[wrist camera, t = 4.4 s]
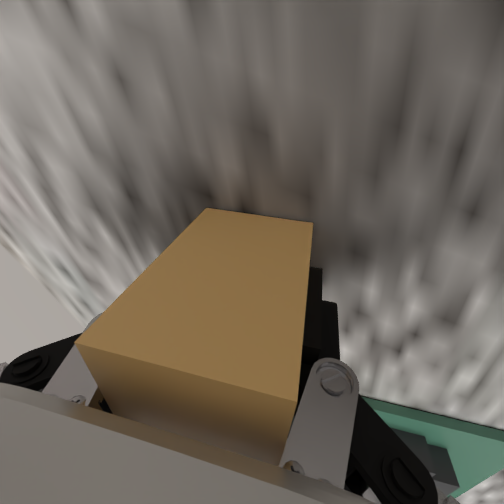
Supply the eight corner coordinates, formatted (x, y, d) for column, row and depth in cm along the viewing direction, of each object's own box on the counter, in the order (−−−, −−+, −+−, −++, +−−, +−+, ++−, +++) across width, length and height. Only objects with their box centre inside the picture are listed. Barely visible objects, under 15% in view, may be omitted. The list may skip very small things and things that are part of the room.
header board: (526, 436, 14) (559, 493, 12) (422, 507, 22) (431, 549, 20) (245, 368, 17) (234, 405, 15) (241, 453, 24) (233, 485, 22)
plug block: (313, 223, 10) (297, 401, 4) (293, 325, 13) (269, 502, 8) (206, 207, 11) (74, 342, 5) (212, 307, 14) (136, 457, 8)
